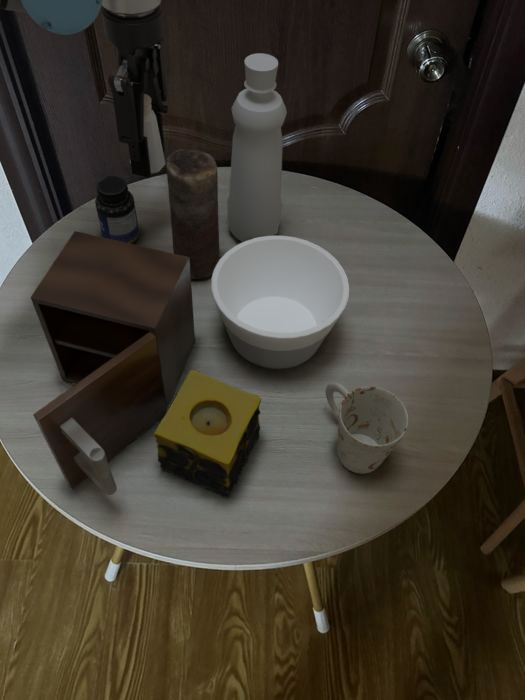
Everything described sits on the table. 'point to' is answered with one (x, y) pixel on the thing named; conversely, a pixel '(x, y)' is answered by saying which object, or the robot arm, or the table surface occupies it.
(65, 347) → the cabinet
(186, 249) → the candle
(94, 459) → the door
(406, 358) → the table surface
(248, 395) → the candle
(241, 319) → the bowl
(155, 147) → the salt shaker
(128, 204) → the pill bottle
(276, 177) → the bottle
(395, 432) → the mug
